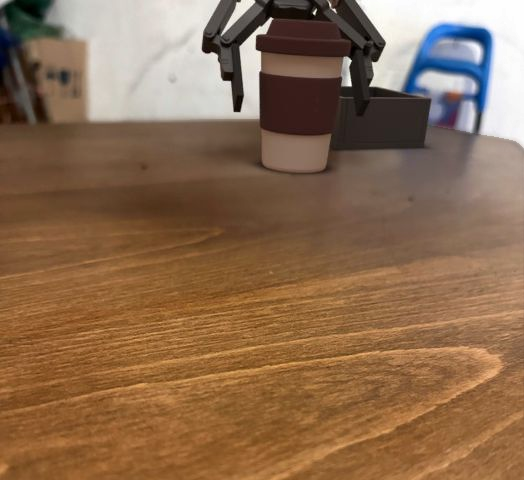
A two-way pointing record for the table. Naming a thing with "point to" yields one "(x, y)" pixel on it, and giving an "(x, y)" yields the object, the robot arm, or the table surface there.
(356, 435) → the table surface
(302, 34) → the coffee cup
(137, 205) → the table surface
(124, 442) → the table surface
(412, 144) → the basket
